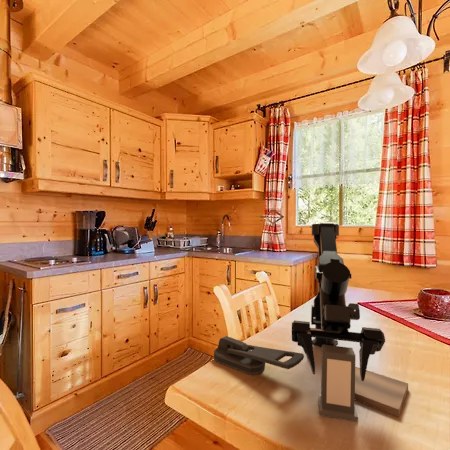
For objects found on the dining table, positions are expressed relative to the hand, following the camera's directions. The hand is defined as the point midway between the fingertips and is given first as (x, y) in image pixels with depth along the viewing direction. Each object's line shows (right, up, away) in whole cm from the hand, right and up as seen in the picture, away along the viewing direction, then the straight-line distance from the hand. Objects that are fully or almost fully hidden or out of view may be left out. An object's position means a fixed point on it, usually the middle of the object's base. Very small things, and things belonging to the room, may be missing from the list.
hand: (338, 376), depth 57 cm
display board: (+11, -7, +7) cm, 15 cm away
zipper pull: (-15, -7, +17) cm, 24 cm away
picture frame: (0, -7, +1) cm, 7 cm away
